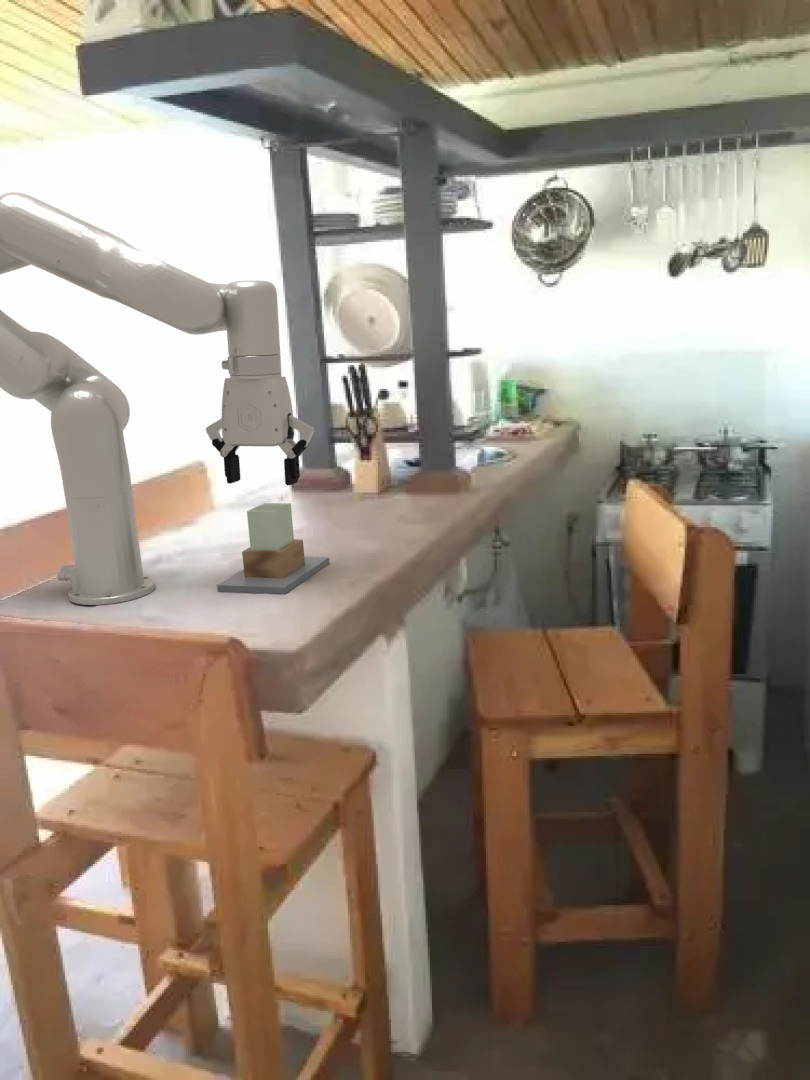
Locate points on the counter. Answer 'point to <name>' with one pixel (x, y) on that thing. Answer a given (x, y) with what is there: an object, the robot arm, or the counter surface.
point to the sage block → (270, 526)
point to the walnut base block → (274, 561)
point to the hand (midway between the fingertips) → (262, 482)
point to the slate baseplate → (273, 579)
